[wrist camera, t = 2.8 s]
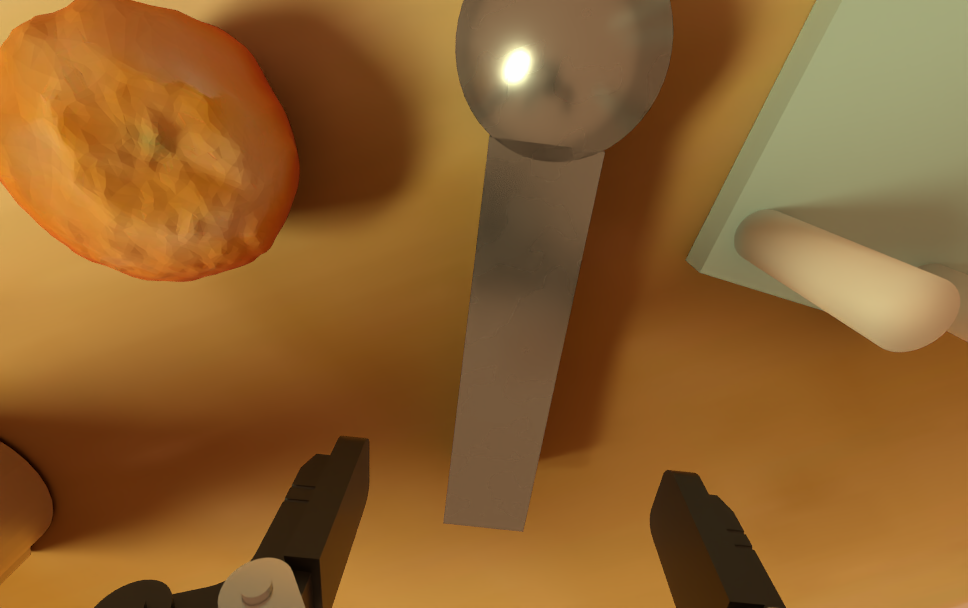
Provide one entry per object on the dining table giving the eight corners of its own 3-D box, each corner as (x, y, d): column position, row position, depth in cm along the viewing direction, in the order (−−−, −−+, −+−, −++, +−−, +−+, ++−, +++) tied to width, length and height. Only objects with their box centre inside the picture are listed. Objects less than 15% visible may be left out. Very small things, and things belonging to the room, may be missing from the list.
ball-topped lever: (542, 468, 24) (551, 534, 21) (426, 455, 24) (414, 520, 20) (672, -116, 15) (732, -187, 11) (482, -145, 15) (477, -226, 11)
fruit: (-12, 87, 16) (-185, 7, 9) (223, 30, 19) (222, -65, 12) (130, 293, 19) (78, 348, 12) (314, 218, 22) (355, 229, 15)
